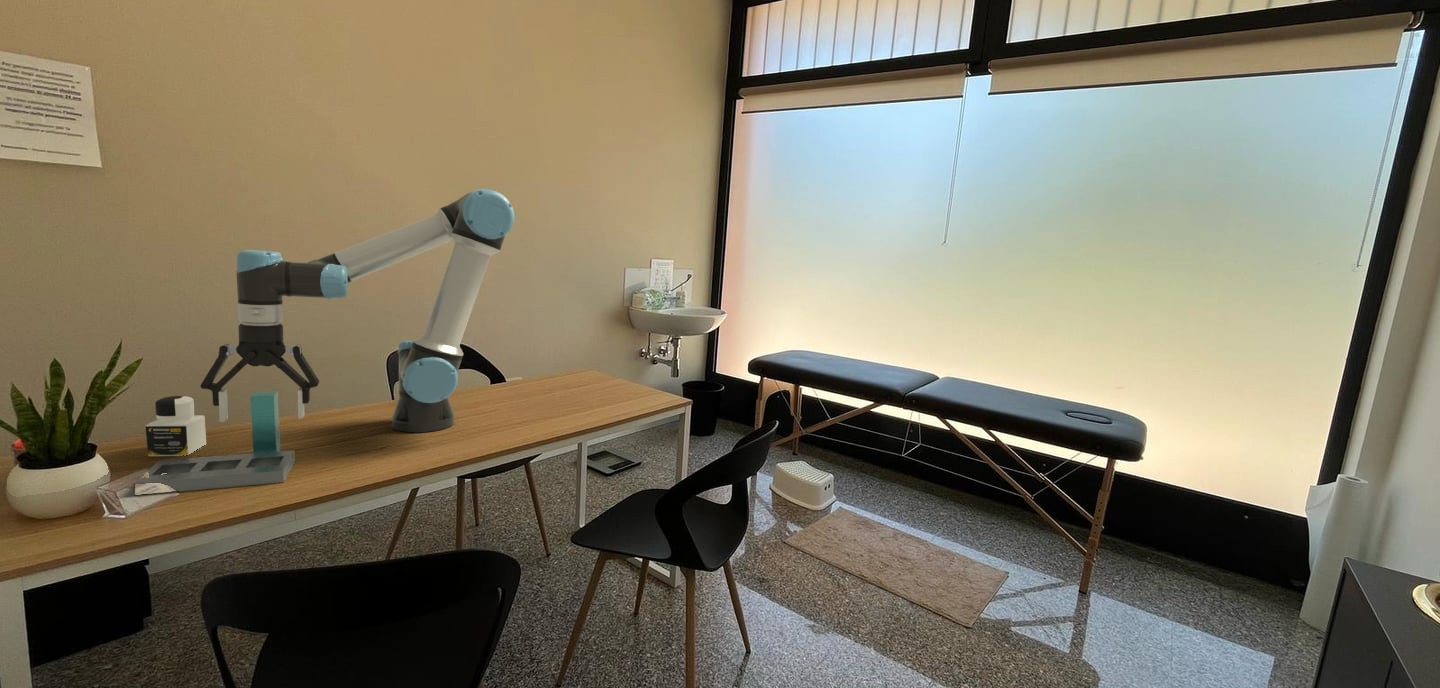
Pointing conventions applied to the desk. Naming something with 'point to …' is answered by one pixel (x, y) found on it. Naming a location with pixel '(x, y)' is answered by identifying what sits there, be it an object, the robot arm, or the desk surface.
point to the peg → (265, 421)
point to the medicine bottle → (175, 428)
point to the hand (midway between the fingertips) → (263, 418)
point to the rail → (221, 471)
